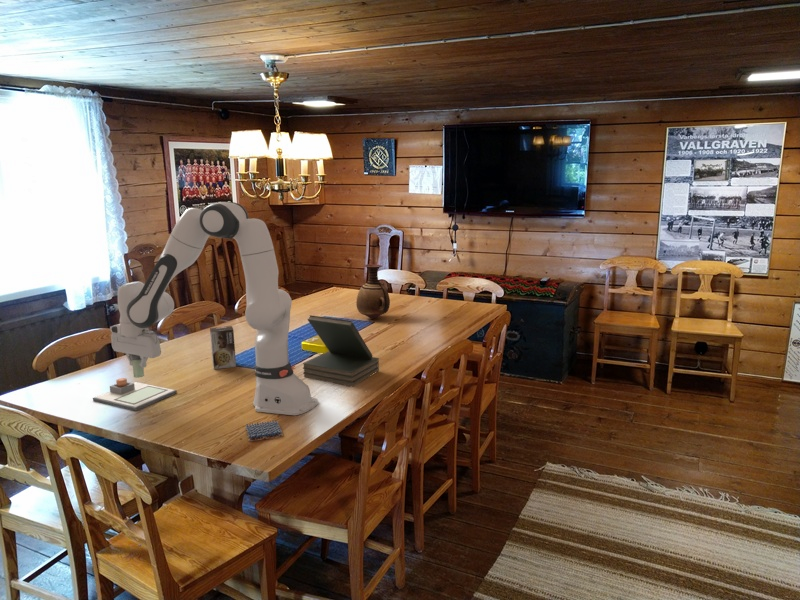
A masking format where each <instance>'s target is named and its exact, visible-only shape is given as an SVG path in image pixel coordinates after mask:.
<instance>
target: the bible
mask: <svg viewBox="0 0 800 600" xmlns="http://www.w3.org/2000/svg"><path fill="white" fill-rule="evenodd" d="M307 321H308V323H309V324H310V325H311V326H312V328H313V330H314V331H315V332H316V335H319V337H320V338H321V340H322V341H323V343H324V344H325V345H326V347H327V348H328V350H329V351H328V352H326V353H324V354H319V355H317V356H316V357H313V358H311V359H308V360H306V361H305V362H303V363H302V364H303V368H302V369H303V372H302V373H303V376H304V378H306V379H310V380H316V381H320V382H326V383H331V384H337V385H341V386H345V385H346V387H350V386H352V387H351V388H353V387H355V386H357V385H358V384H360V383H362V382H363V381H365V380H367V379H368V378H370V377H371V376H370V375H372V374H373V373H375V372H377V371H379V372H380V363H379V362H380V358H379V357H375V356H374V355H373V354H372V352H371V350H370V349H369V347H368V345H367V344H366V342H365V340H364V339H363V337H362V336H361V334H360V331H358V329H357V327H356V325H355V324H354V322H353V320H349V319H340V318H332V317H325V316H319V315H312V314H310V315H309V317H308V318H307ZM377 373H378V372H377ZM375 374H376V373H375ZM369 376H370V377H369ZM372 376H373V375H372ZM367 377H368V378H367ZM366 378H367V379H366ZM364 379H365V380H364ZM362 380H363V381H362ZM361 381H362V382H361ZM359 382H360V383H359ZM354 385H355V386H354Z"/></svg>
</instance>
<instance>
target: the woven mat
mask: <svg viewBox="0 0 800 600" xmlns="http://www.w3.org/2000/svg"><path fill="white" fill-rule="evenodd" d="M244 427H245V428H244V431H245V434H247V438H248V440H247V441H248V442H255V441H262V440H267V439H273V438H279V437H280V438H281V437H283V436H284V433H282V432H283V430H282V428H281V426H280V424H279V421H277V420H275V421H274V420H273V419H272V421H268V420H267V421H265V422H264V421H262V422H260V423H259V422H256V423H250V424H248V423H247V424H246V425H245V426H244Z"/></svg>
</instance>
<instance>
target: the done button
mask: <svg viewBox="0 0 800 600" xmlns="http://www.w3.org/2000/svg"><path fill="white" fill-rule="evenodd" d="M115 382H116V383H115V384H117V387H124V386H126V385H127V382H128V380H127V378H126V377H125V378H124V377H121V378H118V379H116V380H115Z"/></svg>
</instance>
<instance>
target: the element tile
mask: <svg viewBox="0 0 800 600" xmlns="http://www.w3.org/2000/svg"><path fill="white" fill-rule="evenodd" d="M302 349H303V350H307V351H312V352H317V353H316V354H318V353H323V354H324V353H326V352H328V351H329V350H328V348H327V347H326V345H325V344H324V343H323V341H322V340H321V338H320V337H319V335H318V334H316V335H314V336H312V337H310V338H307V339H305V340H302V341H301V350H302ZM312 352H311V353H312Z"/></svg>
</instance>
